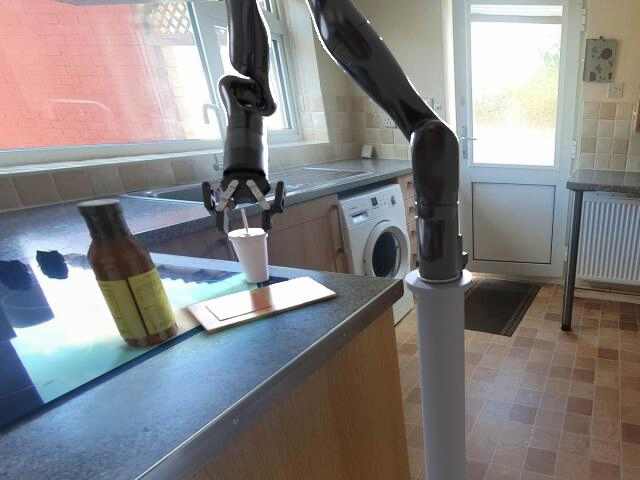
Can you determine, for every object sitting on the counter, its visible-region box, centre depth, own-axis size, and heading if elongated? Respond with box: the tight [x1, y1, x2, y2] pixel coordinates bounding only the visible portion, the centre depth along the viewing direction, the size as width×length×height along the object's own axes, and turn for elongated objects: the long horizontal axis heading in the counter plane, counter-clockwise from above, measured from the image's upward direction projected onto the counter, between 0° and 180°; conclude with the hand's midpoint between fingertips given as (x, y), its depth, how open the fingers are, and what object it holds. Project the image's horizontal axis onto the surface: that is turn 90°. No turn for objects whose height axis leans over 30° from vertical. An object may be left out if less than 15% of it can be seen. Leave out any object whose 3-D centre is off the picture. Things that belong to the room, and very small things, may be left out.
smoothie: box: [227, 208, 270, 284], centre depth 78 cm, size 6×6×14 cm
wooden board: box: [185, 276, 338, 334], centre depth 71 cm, size 20×12×1 cm, turn 139°
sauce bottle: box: [76, 198, 179, 348], centre depth 55 cm, size 7×6×20 cm
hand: (244, 231), depth 75 cm, fingers closed on smoothie, 6 cm apart
